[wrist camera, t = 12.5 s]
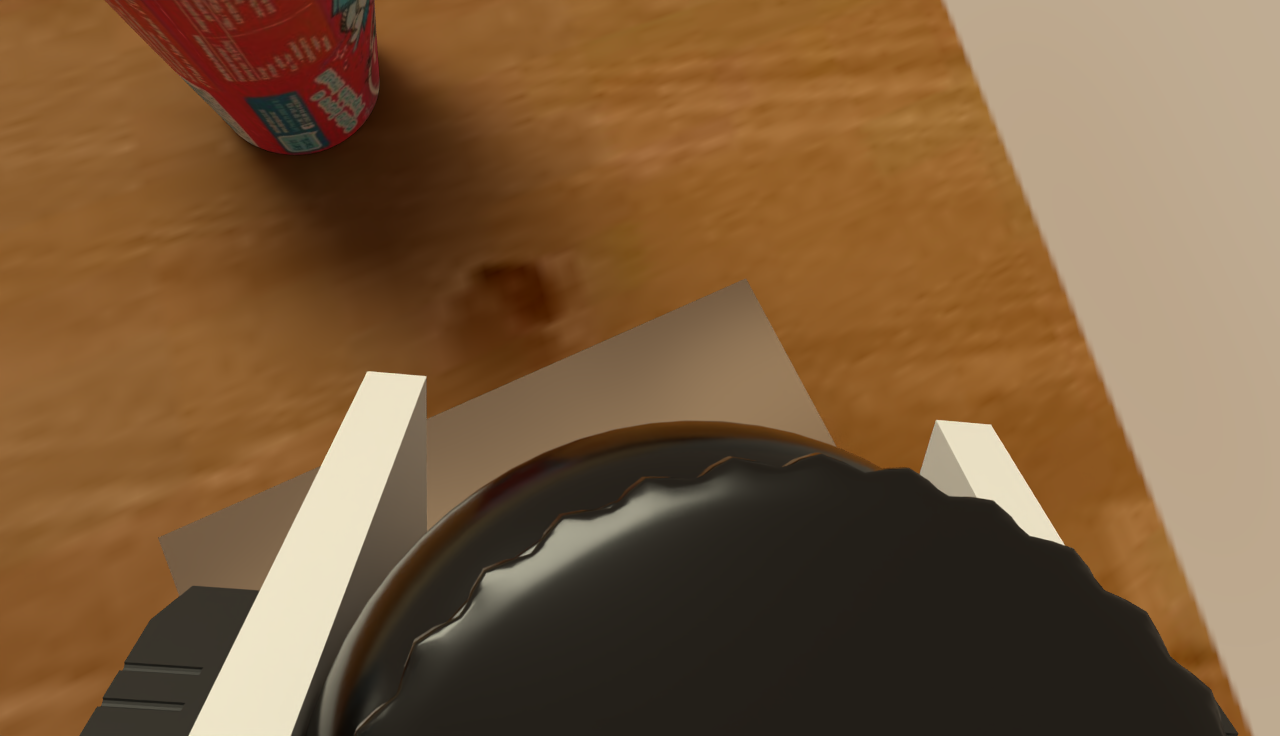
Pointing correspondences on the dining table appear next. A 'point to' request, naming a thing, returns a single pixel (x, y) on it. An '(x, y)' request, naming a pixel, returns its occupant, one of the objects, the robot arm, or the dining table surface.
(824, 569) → the supplement bottle
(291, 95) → the cup
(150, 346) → the dining table surface
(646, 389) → the walnut riser block
